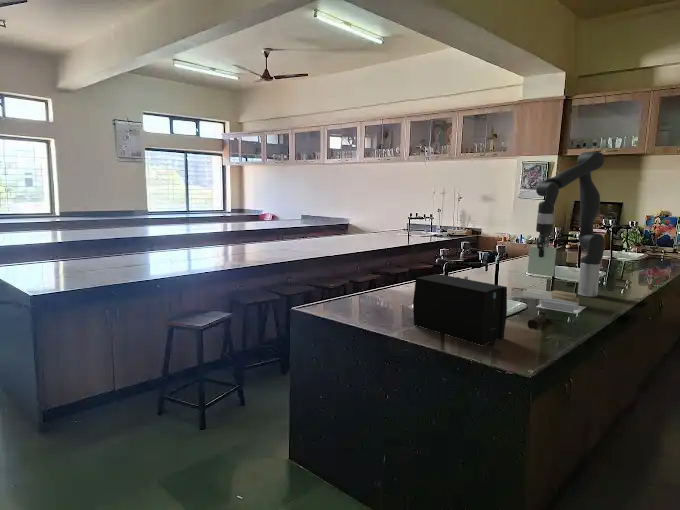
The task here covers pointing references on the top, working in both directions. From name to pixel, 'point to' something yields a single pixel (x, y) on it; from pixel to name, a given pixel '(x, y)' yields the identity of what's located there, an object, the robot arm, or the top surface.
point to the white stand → (537, 294)
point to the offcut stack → (564, 296)
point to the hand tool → (537, 319)
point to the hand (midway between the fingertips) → (542, 256)
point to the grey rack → (561, 305)
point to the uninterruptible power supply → (460, 307)
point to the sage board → (542, 261)
